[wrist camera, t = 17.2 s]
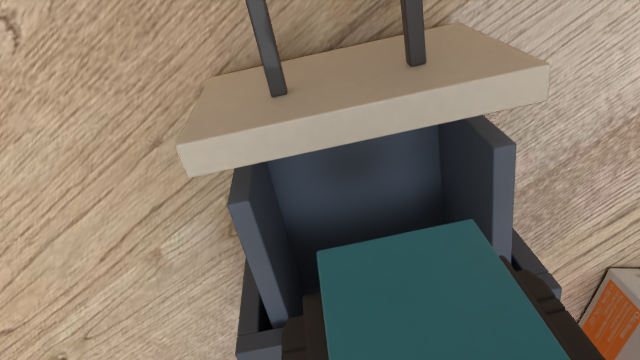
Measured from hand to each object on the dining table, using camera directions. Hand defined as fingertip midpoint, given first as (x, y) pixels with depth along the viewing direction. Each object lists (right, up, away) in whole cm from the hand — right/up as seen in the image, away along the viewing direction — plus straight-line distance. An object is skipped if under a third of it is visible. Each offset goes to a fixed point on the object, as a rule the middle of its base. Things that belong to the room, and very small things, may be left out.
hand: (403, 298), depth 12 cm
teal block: (0, 0, 0) cm, 0 cm away
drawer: (-1, +6, +9) cm, 11 cm away
